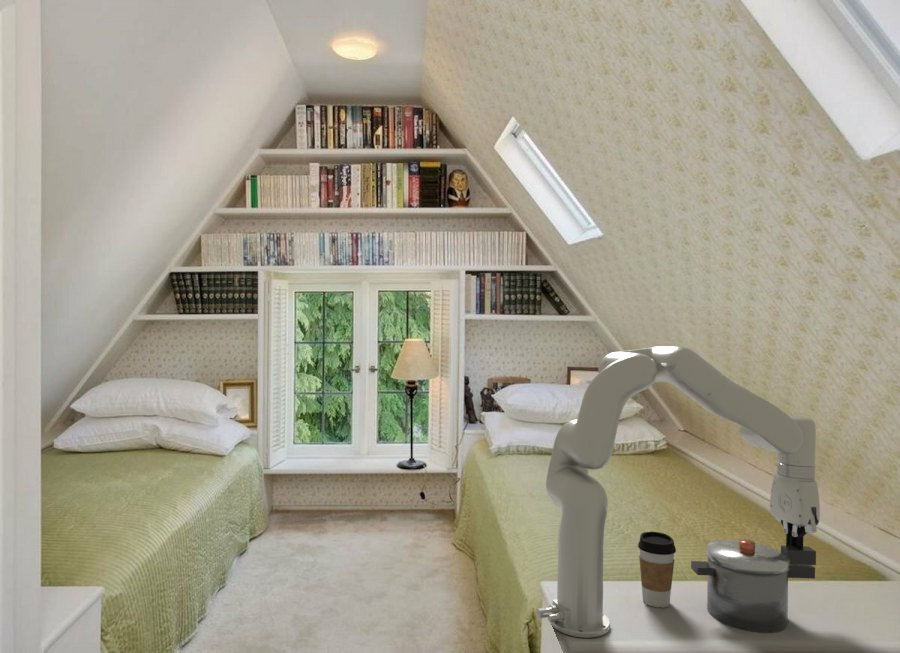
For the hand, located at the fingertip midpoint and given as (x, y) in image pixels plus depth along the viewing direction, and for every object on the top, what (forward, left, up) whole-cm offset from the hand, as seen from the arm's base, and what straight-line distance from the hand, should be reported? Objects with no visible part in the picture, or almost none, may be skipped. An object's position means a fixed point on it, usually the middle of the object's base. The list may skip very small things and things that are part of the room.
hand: (794, 552), depth 136 cm
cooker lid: (-10, +1, -1) cm, 10 cm away
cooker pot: (-11, +1, -13) cm, 17 cm away
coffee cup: (-27, +13, -13) cm, 33 cm away
